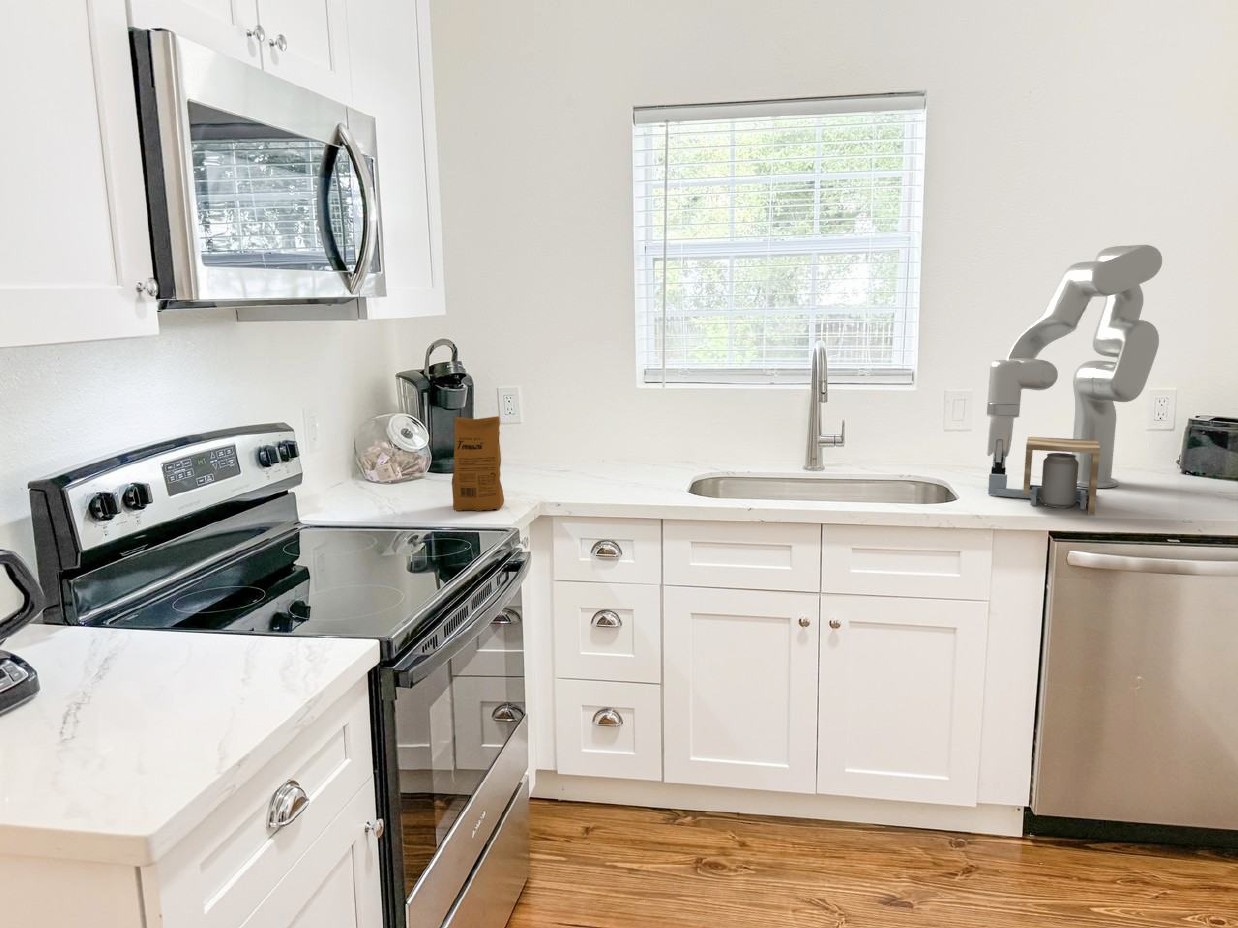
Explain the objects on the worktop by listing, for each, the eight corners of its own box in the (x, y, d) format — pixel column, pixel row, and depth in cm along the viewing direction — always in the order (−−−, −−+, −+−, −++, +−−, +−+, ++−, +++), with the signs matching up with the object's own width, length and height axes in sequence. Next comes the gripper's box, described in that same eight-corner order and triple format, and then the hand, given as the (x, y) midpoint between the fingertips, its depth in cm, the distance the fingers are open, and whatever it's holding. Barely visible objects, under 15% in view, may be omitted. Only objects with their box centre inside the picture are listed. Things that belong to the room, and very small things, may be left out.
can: (1079, 508, 215) (1083, 457, 213) (1044, 507, 217) (1048, 456, 214) (1070, 501, 222) (1074, 451, 220) (1037, 500, 224) (1040, 451, 222)
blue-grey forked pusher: (988, 493, 231) (989, 473, 230) (1084, 500, 222) (1086, 479, 221) (985, 501, 222) (987, 480, 221) (1085, 509, 214) (1087, 487, 213)
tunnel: (1023, 498, 226) (1028, 436, 223) (1092, 504, 220) (1097, 440, 217) (1022, 509, 215) (1026, 444, 212) (1094, 515, 209) (1099, 448, 206)
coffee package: (456, 502, 230) (452, 414, 226) (506, 502, 230) (503, 413, 226) (448, 512, 220) (444, 419, 216) (501, 511, 220) (498, 419, 216)
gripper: (989, 406, 240) (983, 476, 243) (984, 412, 227) (979, 487, 230) (1020, 407, 237) (1014, 479, 240) (1018, 414, 223) (1012, 489, 227)
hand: (997, 482), depth 235 cm, fingers closed
